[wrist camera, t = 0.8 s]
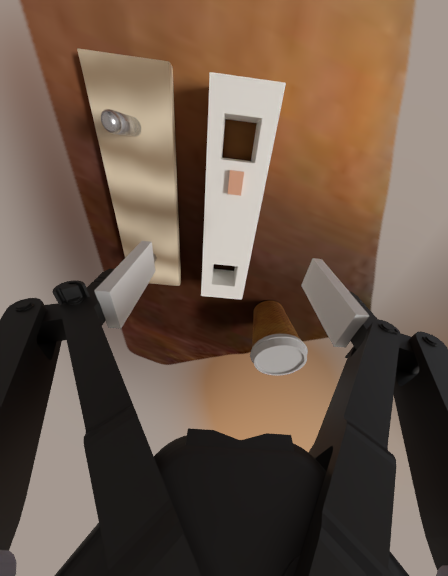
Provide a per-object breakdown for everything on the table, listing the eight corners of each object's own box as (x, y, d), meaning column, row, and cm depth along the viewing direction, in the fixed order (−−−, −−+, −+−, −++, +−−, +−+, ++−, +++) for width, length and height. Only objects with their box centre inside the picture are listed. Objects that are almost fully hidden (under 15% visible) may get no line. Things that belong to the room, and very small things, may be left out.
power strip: (213, 86, 21) (209, 70, 17) (275, 94, 22) (287, 81, 17) (204, 279, 37) (200, 298, 32) (240, 283, 37) (242, 301, 32)
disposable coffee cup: (262, 332, 45) (272, 382, 36) (236, 309, 41) (239, 359, 31) (299, 312, 41) (320, 363, 32) (274, 286, 37) (290, 334, 28)
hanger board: (86, 54, 20) (77, 48, 19) (172, 66, 20) (168, 61, 19) (133, 276, 37) (130, 281, 35) (181, 281, 37) (179, 285, 36)
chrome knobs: (127, 116, 22) (93, 106, 17) (142, 118, 23) (114, 108, 17) (148, 258, 34) (132, 281, 28) (158, 259, 34) (145, 282, 28)
